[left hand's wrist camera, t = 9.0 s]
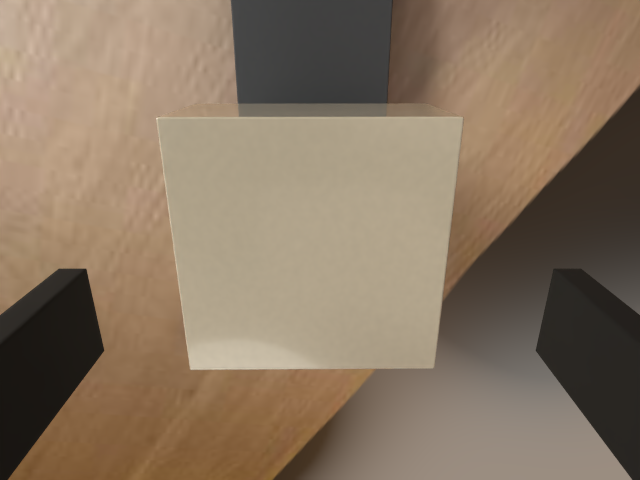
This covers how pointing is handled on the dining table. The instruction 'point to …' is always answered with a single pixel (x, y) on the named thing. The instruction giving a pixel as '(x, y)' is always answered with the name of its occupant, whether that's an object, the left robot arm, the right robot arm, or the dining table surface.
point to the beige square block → (310, 232)
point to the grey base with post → (312, 51)
